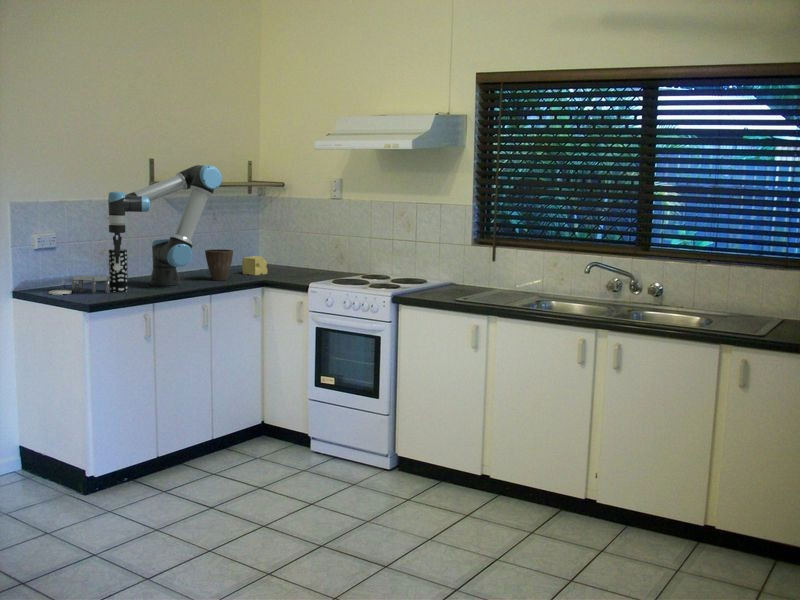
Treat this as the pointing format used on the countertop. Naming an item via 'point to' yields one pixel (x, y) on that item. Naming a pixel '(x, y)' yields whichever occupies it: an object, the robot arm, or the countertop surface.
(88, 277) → the small grey table
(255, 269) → the cheese
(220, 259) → the plant pot
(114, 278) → the spotted tube
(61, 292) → the coaster
